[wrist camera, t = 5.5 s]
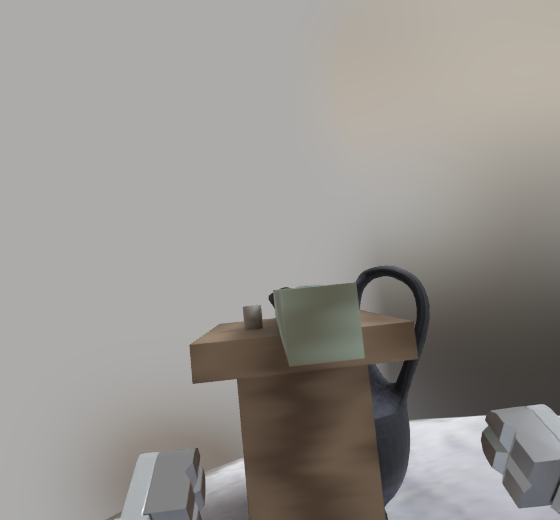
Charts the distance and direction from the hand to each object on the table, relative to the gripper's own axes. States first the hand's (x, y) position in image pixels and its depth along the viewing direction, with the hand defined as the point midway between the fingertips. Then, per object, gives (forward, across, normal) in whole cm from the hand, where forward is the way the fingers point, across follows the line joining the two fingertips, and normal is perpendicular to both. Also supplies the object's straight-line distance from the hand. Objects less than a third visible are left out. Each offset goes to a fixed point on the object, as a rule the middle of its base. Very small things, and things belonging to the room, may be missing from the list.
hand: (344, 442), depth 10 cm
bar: (+10, 0, +4) cm, 11 cm away
